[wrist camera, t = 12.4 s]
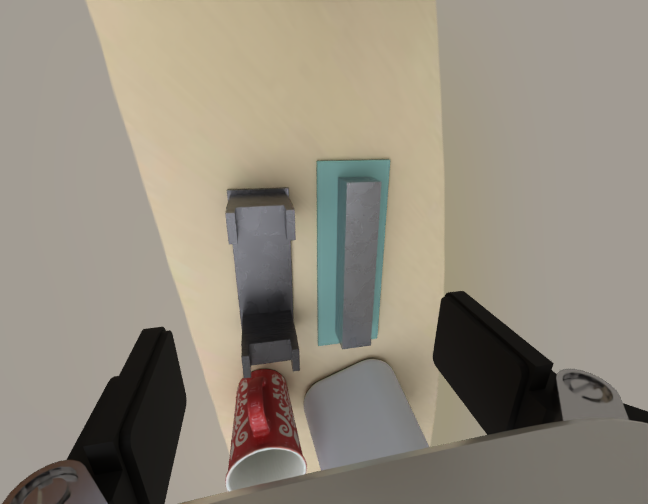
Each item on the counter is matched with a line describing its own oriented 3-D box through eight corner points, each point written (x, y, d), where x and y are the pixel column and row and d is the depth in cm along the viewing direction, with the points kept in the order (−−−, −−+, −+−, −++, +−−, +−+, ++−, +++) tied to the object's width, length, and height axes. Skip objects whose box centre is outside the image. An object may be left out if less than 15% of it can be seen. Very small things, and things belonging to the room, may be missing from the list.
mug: (295, 404, 51) (309, 493, 39) (236, 416, 50) (231, 512, 37) (288, 338, 46) (302, 415, 34) (223, 349, 45) (212, 433, 33)
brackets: (227, 189, 37) (220, 207, 29) (288, 187, 39) (298, 204, 31) (242, 335, 45) (241, 382, 37) (293, 329, 46) (302, 373, 38)
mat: (316, 160, 38) (317, 161, 38) (388, 159, 40) (390, 159, 40) (317, 343, 48) (318, 346, 47) (375, 335, 50) (377, 338, 49)
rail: (337, 177, 39) (346, 182, 35) (369, 176, 40) (381, 181, 36) (335, 331, 47) (342, 349, 43) (361, 328, 48) (370, 345, 44)
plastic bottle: (407, 408, 57) (534, 639, 31) (328, 446, 56) (393, 714, 31) (382, 346, 51) (516, 571, 25) (293, 388, 50) (339, 663, 24)
